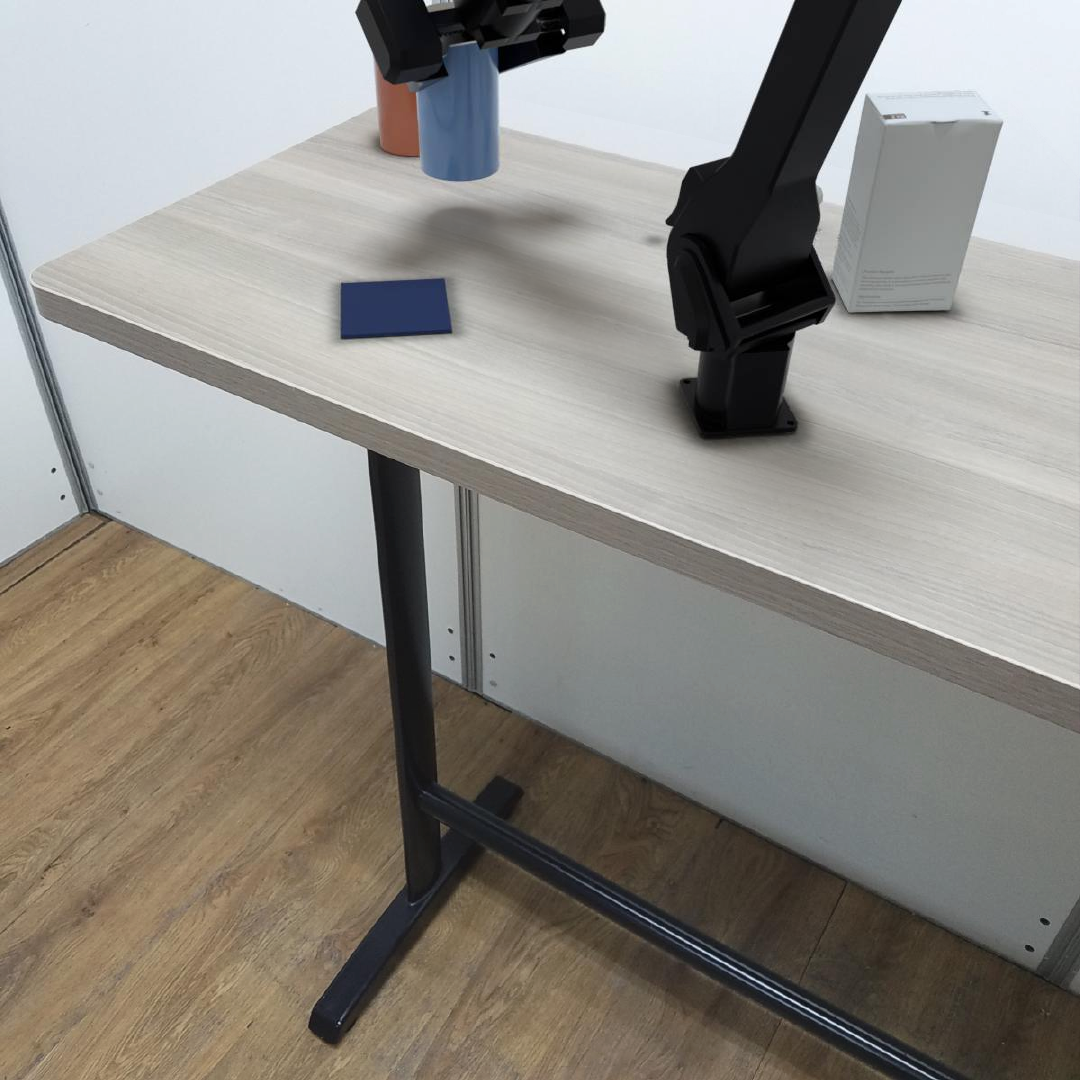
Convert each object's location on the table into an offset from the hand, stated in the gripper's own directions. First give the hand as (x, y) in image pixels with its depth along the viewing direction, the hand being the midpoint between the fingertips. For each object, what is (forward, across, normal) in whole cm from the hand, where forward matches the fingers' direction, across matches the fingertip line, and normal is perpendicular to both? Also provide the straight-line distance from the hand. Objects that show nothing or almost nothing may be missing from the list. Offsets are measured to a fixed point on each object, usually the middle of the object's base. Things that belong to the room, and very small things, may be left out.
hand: (448, 79), depth 87 cm
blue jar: (+4, 0, +6) cm, 7 cm away
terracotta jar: (+20, -5, -4) cm, 21 cm away
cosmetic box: (-13, -21, +30) cm, 39 cm away
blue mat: (0, +12, +16) cm, 21 cm away
